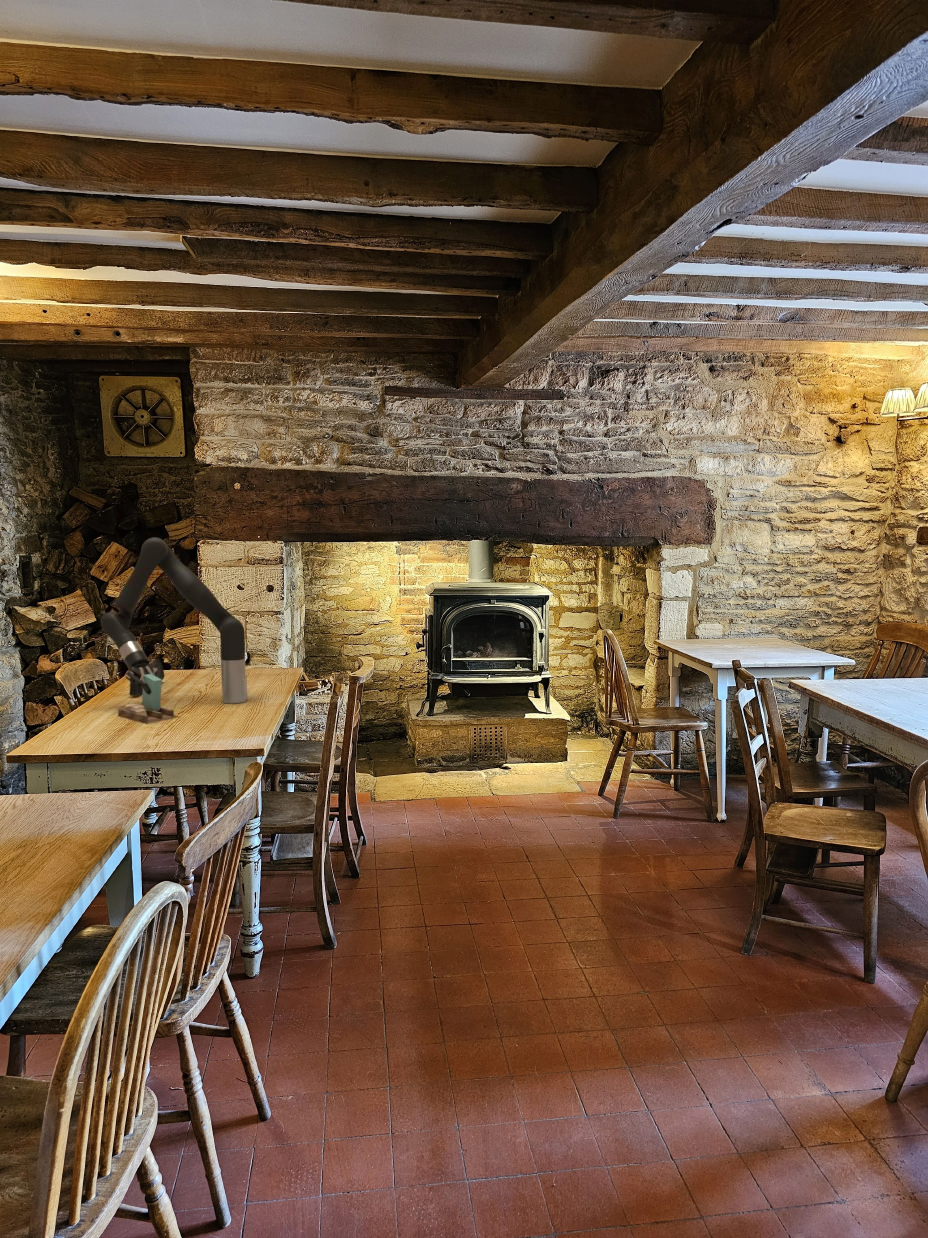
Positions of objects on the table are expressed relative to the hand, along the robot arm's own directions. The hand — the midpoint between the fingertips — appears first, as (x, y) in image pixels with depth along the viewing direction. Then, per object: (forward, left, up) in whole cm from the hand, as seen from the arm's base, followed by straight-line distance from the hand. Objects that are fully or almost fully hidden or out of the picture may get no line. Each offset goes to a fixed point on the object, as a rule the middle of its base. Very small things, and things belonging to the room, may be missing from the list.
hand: (154, 692), depth 296 cm
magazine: (+16, -49, -10) cm, 53 cm away
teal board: (+2, -2, -6) cm, 7 cm away
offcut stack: (+6, +3, -8) cm, 11 cm away
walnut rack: (+2, +3, -10) cm, 10 cm away
